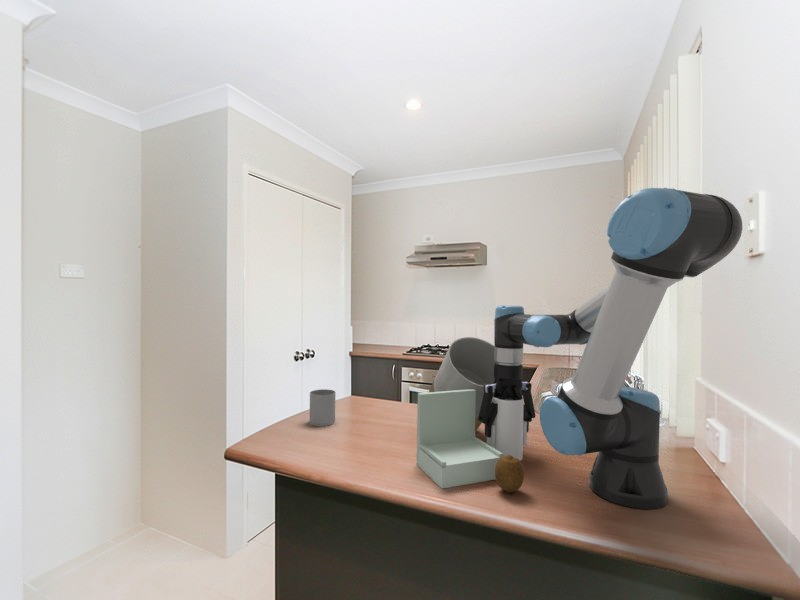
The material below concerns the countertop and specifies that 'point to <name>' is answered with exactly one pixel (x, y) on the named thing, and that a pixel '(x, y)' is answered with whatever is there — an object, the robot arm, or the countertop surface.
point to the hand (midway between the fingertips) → (506, 446)
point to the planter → (467, 369)
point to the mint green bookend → (452, 440)
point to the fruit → (509, 473)
